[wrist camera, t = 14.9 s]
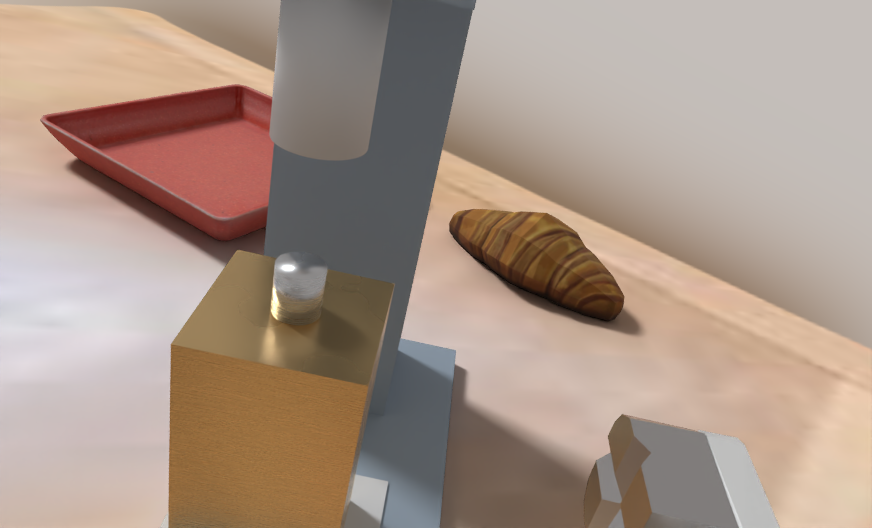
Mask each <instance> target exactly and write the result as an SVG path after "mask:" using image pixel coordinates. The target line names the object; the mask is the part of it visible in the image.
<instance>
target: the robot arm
mask: <svg viewBox="0 0 872 528" xmlns="http://www.w3.org/2000/svg"><path fill="white" fill-rule="evenodd" d="M608 439H609V445H610V451H611V453H609V454H607V455H605V456H604V457H602V458H600V459H598V460H596V462H595V465H594V467H593V469H592V472H591V474H590V476H589V479H588V483H587V488H586V493H585V498H584V523H585V528H780V527H779V524H778V522H777V519H776V517H775V515H774V512H773V510H772V508H771V505H770V503H769V501H768V498H767V496H766V494H765V491H764V489H763V487H762V484H761V482H760V480H759V477H758V475H757V472H756V470H755V468H754V465H753V463H752V461H751V458H750V456H749V454H748V451H747V449H746V447H745V445H744V444H743V443H742V442H741V441H740V440H739V439H738V438H735V437H731V436H726V435H721V434H716V433H711V432H706V431H701V430H698V431H695V430H691V429H687V428H682V427H678V426H673V425H669V424H664V423H660V422H655V421H651V420H646V419H642V418H637V417H633V416H628V415H624V414H622V415H621V416H620V417H619V418H618V419H617V420H616V421H615V423H614V425H613V427H612V429H611V431H610V433H609V435H608Z"/></svg>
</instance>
